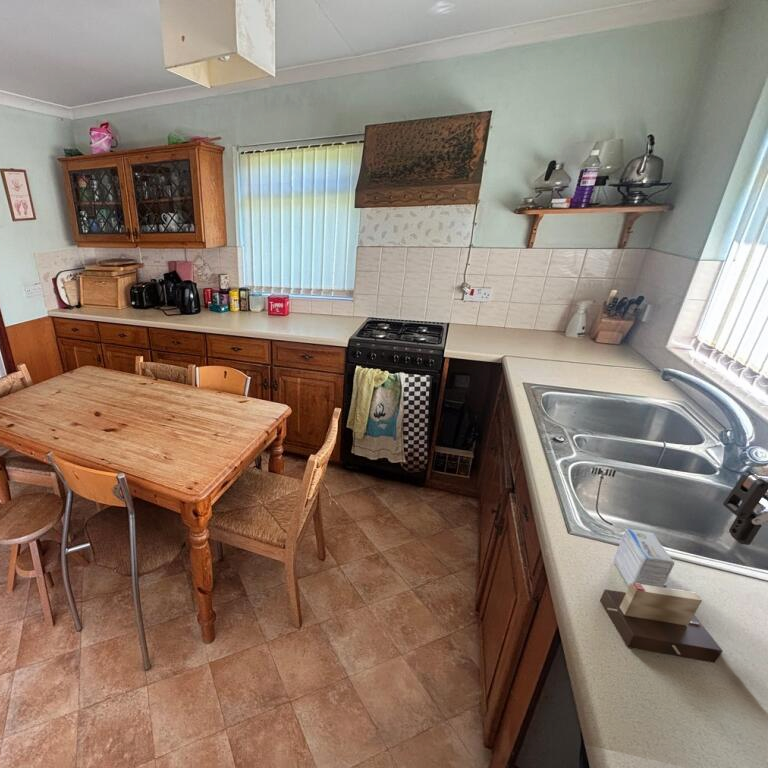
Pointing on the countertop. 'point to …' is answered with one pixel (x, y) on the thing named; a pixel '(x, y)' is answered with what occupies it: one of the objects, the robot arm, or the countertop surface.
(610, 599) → the dark brown flat slab
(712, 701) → the countertop surface
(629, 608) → the dial pointer
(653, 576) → the medicine box
